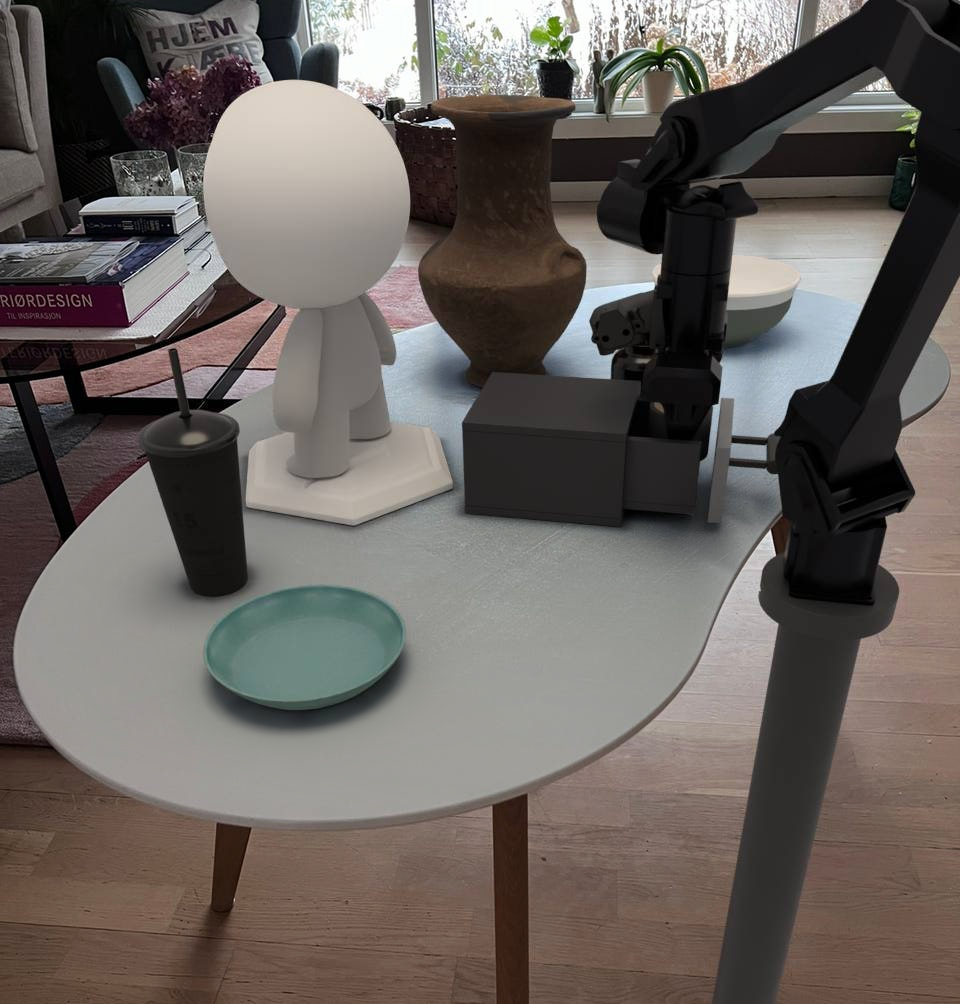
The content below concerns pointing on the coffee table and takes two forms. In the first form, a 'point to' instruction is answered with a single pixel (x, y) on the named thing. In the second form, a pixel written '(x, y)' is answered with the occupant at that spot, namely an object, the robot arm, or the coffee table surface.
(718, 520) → the drawer
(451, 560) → the coffee table surface
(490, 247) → the vase
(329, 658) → the saucer
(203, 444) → the drinking cup
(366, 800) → the coffee table surface
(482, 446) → the drawer cabinet
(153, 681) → the coffee table surface
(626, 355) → the supplement bottle
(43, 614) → the coffee table surface
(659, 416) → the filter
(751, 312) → the bowl
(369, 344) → the white cartoon figure
